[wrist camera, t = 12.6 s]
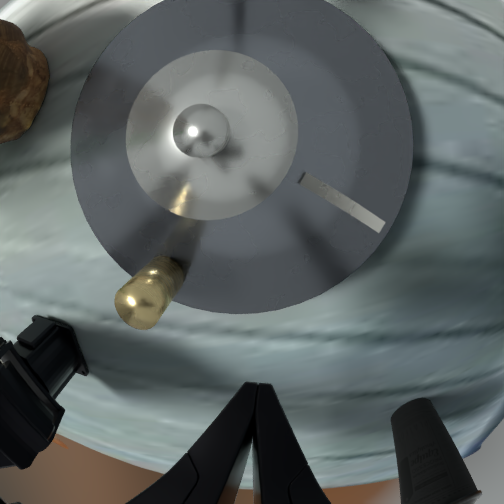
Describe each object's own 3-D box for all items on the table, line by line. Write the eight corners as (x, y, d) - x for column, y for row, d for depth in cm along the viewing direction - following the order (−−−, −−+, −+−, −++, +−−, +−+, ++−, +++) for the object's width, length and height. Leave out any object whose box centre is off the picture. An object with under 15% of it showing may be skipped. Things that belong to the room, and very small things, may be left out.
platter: (191, 345, 19) (168, 396, 14) (46, 122, 14) (-6, 124, 10) (450, 207, 14) (501, 230, 9) (279, -47, 9) (276, -94, 4)
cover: (203, 228, 15) (175, 257, 11) (137, 124, 13) (91, 118, 9) (320, 161, 13) (336, 163, 9) (246, 50, 11) (232, 13, 7)
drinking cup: (388, 439, 24) (412, 579, 5) (368, 414, 22) (395, 591, 4) (445, 409, 22) (491, 544, 3) (436, 377, 20) (500, 547, 2)
